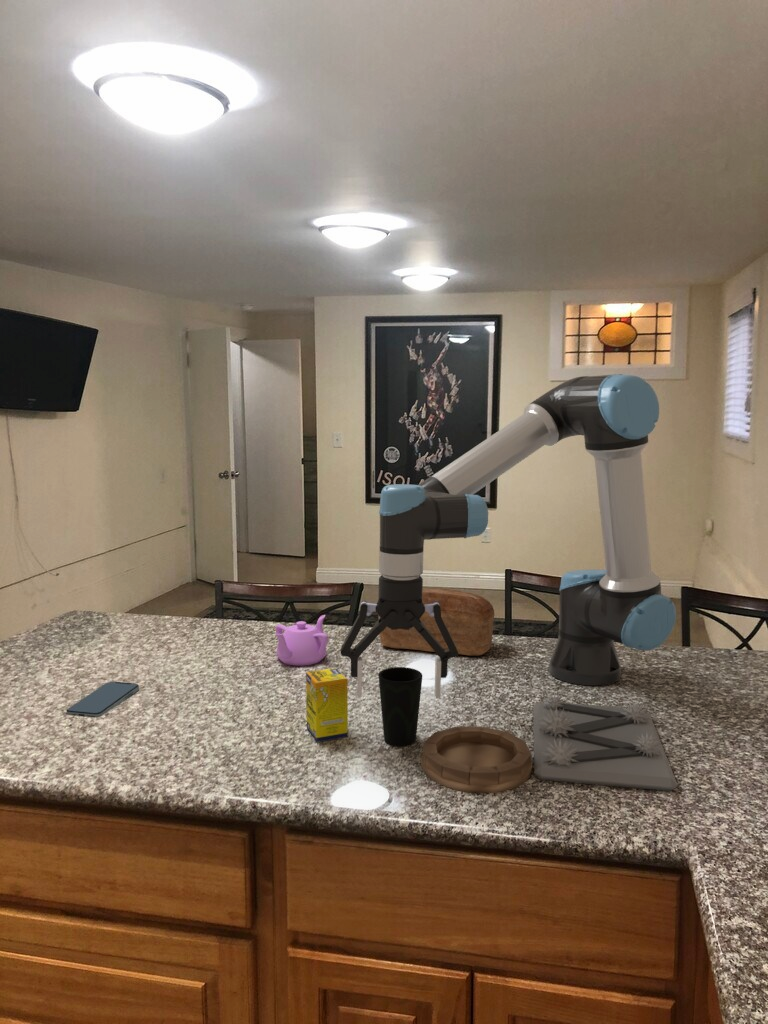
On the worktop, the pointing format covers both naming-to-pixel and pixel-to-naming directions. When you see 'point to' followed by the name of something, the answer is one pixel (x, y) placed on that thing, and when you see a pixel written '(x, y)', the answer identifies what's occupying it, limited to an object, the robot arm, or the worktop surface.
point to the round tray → (476, 759)
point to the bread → (449, 623)
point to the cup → (400, 704)
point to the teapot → (301, 643)
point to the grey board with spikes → (599, 746)
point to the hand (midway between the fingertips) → (398, 694)
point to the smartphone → (103, 699)
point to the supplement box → (327, 704)
